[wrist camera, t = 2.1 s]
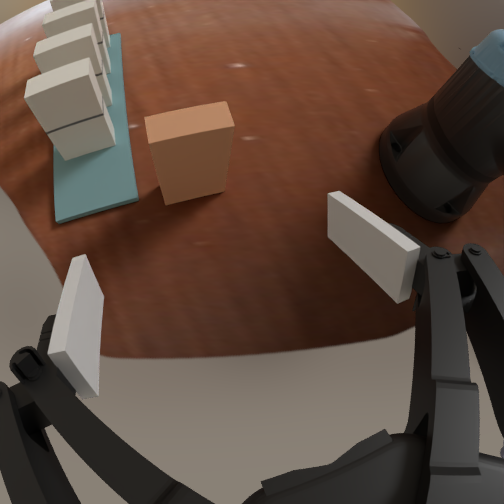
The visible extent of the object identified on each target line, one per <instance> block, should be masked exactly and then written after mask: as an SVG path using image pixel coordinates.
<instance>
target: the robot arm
mask: <svg viewBox="0 0 504 504" xmlns="http://www.w3.org/2000/svg"><path fill="white" fill-rule="evenodd" d="M379 154H380V160H381V164H382V167H383V170H384V173H385V175H386V177H387V179H388V181H389V183H390V185H391V186H392V188H393V189H394V191H395V192H396V194H397V195H398V196H399V197H400V199H401V200H402V201H403V202H404V203H405V204H406V205H407V206H408V207H409V208H410V209H411V210H413V211H414V212H415V213H417V214H418V215H420V216H421V217H423V218H425V219H427V220H430V221H433V222H437V223H448V222H451V221H453V220H455V219H457V218H459V217H461V216H463V215H464V214H466V213H467V212H468V211H469V210H470V209H471V208H472V206H473V205H474V204H475V202H476V201H477V200H478V198H479V197H480V195H481V194H482V193H483V191H484V190H485V188H486V187H487V186H488V184H489V183H490V182H492V181H493V180H495V179H496V178H498V177H500V176H502V175H504V30H502V29H498V30H495V31H492V32H491V33H490V34H489V35H488V36H487V37H486V38H485V39H484V40H483V41H482V42H481V43H480V44H479V45H478V46H476V47H474V48H472V49H471V51H470V56H469V57H468V58H467V59H466V60H465V62H464V63H463V64H462V65H461V66H460V67H459V68H458V69H457V71H456V72H455V73H454V74H453V75H452V76H451V77H450V78H449V79H448V80H447V82H446V83H445V84H444V85H443V86H442V87H441V88H440V89H439V90H438V91H437V93H436V94H435V95H434V96H433V97H432V98H431V99H430V100H429V101H428V102H427V103H425V104H422V105H420V106H418V107H416V108H414V109H411V110H409V111H407V112H405V113H403V114H401V115H399V116H397V117H396V118H395V119H393V120H392V122H391V123H390V124H389V125H388V126H387V128H386V129H385V130H384V131H383V133H382V135H381V138H380V143H379ZM328 238H330V239H331V240H332V241H333V242H334V243H335V244H336V245H337V246H338V247H339V248H340V249H341V250H342V251H343V252H345V253H346V254H347V255H348V256H349V257H350V258H351V259H352V260H353V261H354V262H355V263H356V264H357V265H358V266H359V267H360V268H361V269H362V270H363V271H365V272H366V273H367V274H368V275H369V276H370V277H371V278H372V279H373V280H374V281H375V282H376V283H377V284H378V285H379V286H380V287H381V288H382V289H383V290H384V291H385V292H386V293H387V294H388V295H389V296H390V297H391V298H392V299H393V300H394V301H395V302H396V303H397V304H398V303H400V302H402V301H405V300H407V299H409V298H410V295H411V290H412V288H413V289H414V290H416V291H417V295H416V299H415V303H414V307H413V310H412V311H415V309H416V325H415V353H414V369H413V381H412V393H411V401H410V410H409V418H408V423H407V426H406V430H405V432H404V433H397V434H391V435H389V434H388V433H387V431H386V430H385V429H384V430H382V431H380V432H378V433H376V434H374V435H372V436H370V437H369V438H367V439H365V440H363V441H361V442H359V443H357V444H356V445H355V446H353V447H352V448H351V449H350V450H349V451H347V452H346V453H345V454H343V455H342V456H341V457H339V458H338V459H337V460H336V461H334V462H333V463H331V464H329V465H324V466H319V467H313V468H306V469H299V470H293V471H290V472H287V473H285V474H282V475H279V476H276V477H273V478H270V479H267V480H264V481H261V484H262V487H263V488H261V489H259V490H258V491H256V492H255V493H253V494H252V495H251V496H249V498H247V499H246V500H245V501H244V502H243V503H242V504H504V446H503V447H502V448H501V452H500V454H501V457H502V458H500V457H495V456H491V455H487V454H483V453H479V427H480V426H479V423H480V422H479V421H480V419H479V390H478V385H477V384H476V383H471V380H470V367H469V354H468V344H467V335H466V331H467V334H468V336H469V339H470V341H471V344H472V346H473V349H474V352H475V354H476V357H477V360H478V363H479V366H480V369H481V371H482V374H483V377H484V381H485V384H486V387H487V390H488V393H489V396H490V400H491V403H492V407H493V410H494V414H495V417H496V420H497V424H498V426H499V429H500V431H501V434H502V436H503V438H504V276H503V275H502V273H501V272H500V270H499V269H498V267H497V266H496V264H495V263H494V261H493V260H492V259H491V257H490V256H489V254H488V253H487V251H486V250H485V249H484V248H482V247H481V246H480V245H476V244H471V243H470V244H466V245H464V247H463V250H462V254H453V255H452V254H451V253H450V252H449V251H448V250H446V249H444V248H441V247H431V248H429V247H428V246H426V245H425V244H423V243H422V242H421V241H419V240H418V239H417V238H415V237H414V236H412V235H411V234H410V233H408V232H406V231H405V230H404V229H402V228H401V227H400V226H397V225H394V224H392V223H389V224H388V223H387V222H385V221H384V220H382V219H381V218H379V217H378V216H376V215H375V214H374V213H372V212H371V211H369V210H368V209H366V208H365V207H363V206H362V205H360V204H359V203H357V202H356V201H354V200H353V199H351V198H350V197H348V196H346V195H345V194H343V193H342V192H340V191H337V192H332V193H328ZM103 302H104V296H103V293H102V291H101V289H100V287H99V285H98V282H97V280H96V278H95V275H94V273H93V271H92V268H91V266H90V264H89V261H88V259H87V256H86V254H84V255H81V256H77V257H74V258H72V261H71V264H70V267H69V271H68V274H67V277H66V281H65V284H64V288H63V291H62V295H61V298H60V302H59V306H58V310H57V314H55V315H51V316H49V317H48V318H47V320H46V321H45V323H44V324H43V327H42V331H41V335H40V339H39V341H40V342H39V343H38V347H37V351H36V349H35V348H33V347H32V346H26V347H23V348H21V349H19V350H18V351H17V352H16V353H15V354H14V355H13V357H12V358H11V360H10V369H11V371H12V372H13V374H14V375H15V376H16V377H17V378H18V380H19V381H20V383H18V384H16V385H14V386H12V387H10V388H9V387H8V386H7V385H6V384H5V383H3V382H0V470H1V473H2V477H3V480H4V482H5V486H6V488H7V492H8V494H9V497H10V500H11V502H12V504H81V502H80V501H79V499H78V497H77V495H76V494H75V492H74V490H73V488H72V486H71V484H70V483H69V481H68V479H67V477H66V475H65V473H64V471H63V469H62V467H61V465H60V463H59V460H58V458H57V456H56V454H55V452H54V450H53V447H52V445H51V443H50V440H49V438H48V436H47V433H46V431H45V427H47V426H50V425H53V426H54V427H55V429H56V430H57V431H58V432H59V433H60V435H61V436H62V437H63V438H64V439H65V440H66V442H67V443H68V444H69V445H70V446H71V447H72V448H73V449H74V451H75V452H76V453H77V454H78V455H79V456H80V457H81V458H82V459H83V460H84V462H85V463H86V464H87V465H88V466H89V467H90V468H92V470H93V471H94V472H96V474H97V475H98V476H99V477H100V478H101V479H102V480H103V481H105V483H106V484H108V485H109V486H110V487H111V488H112V489H113V490H114V491H115V492H116V493H117V494H118V495H120V496H121V497H122V498H123V499H124V500H125V501H127V502H128V503H129V504H214V503H212V502H211V501H209V500H207V499H206V498H204V497H203V496H201V495H199V494H198V493H196V492H195V491H193V490H192V489H190V488H188V487H187V486H185V485H184V484H182V483H180V482H178V481H176V480H174V479H173V478H171V477H170V476H169V475H167V474H166V473H164V472H163V471H162V470H160V469H159V468H158V467H156V466H155V465H153V464H152V463H151V462H150V461H148V460H147V459H146V458H144V457H143V456H142V455H140V454H139V453H138V452H137V451H136V450H134V449H133V448H132V447H131V446H129V445H128V444H127V443H126V442H124V441H123V440H122V439H121V438H120V437H119V436H117V435H116V434H115V433H114V432H113V431H112V430H111V429H110V428H108V427H107V426H106V425H105V424H104V423H103V422H102V421H101V420H100V419H98V417H96V416H95V415H94V414H93V413H92V412H91V411H90V410H89V409H88V408H87V407H86V406H85V405H84V404H83V403H82V402H81V401H80V400H79V399H78V398H77V397H76V396H75V393H76V392H77V393H78V394H79V396H80V397H81V398H82V399H87V398H93V397H98V396H99V358H100V339H101V325H102V313H103ZM503 443H504V442H503Z"/></svg>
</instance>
